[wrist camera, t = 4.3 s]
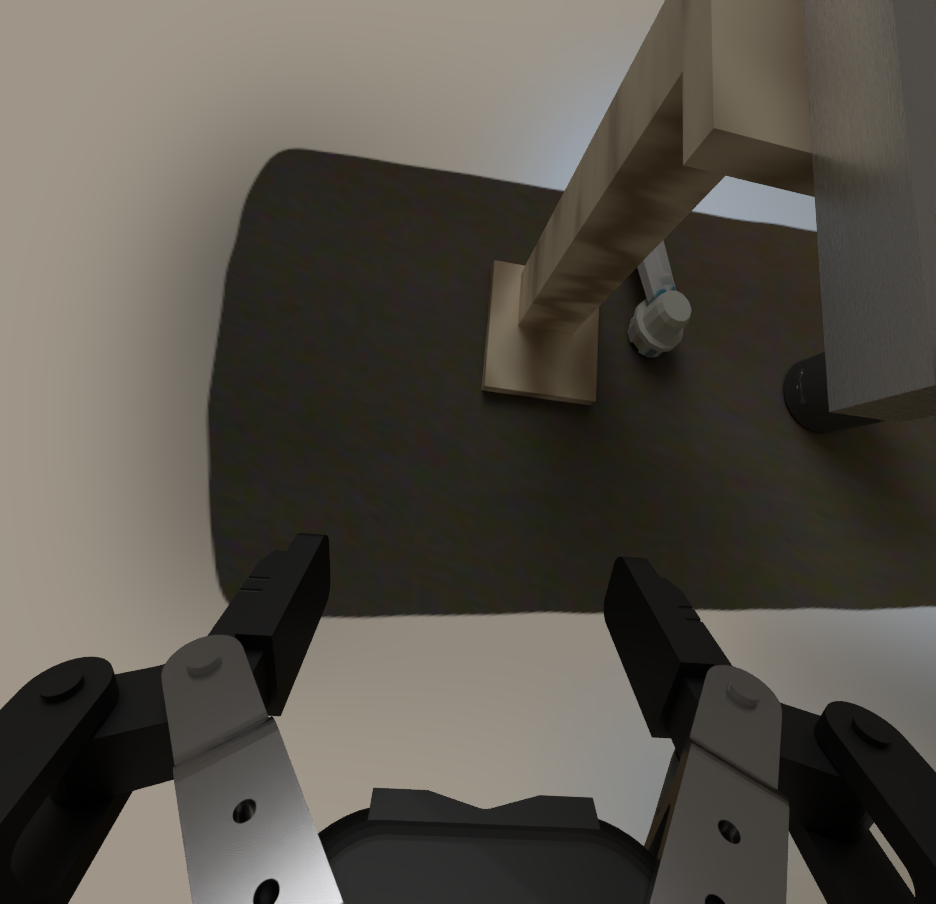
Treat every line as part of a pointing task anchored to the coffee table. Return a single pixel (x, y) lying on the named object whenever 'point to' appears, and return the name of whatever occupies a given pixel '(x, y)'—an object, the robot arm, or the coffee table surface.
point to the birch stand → (652, 180)
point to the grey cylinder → (658, 307)
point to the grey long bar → (875, 200)
